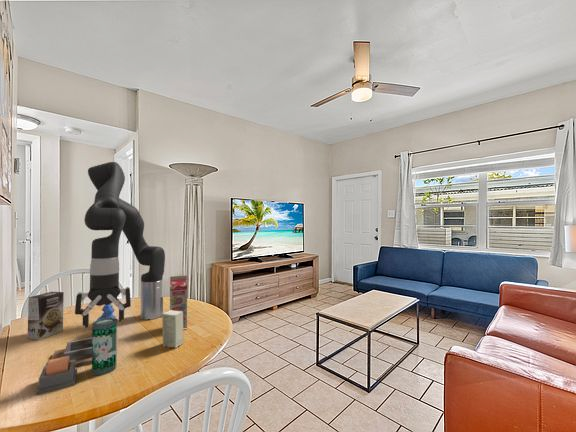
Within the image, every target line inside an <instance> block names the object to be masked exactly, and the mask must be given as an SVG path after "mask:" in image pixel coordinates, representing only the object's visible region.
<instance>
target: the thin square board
mask: <svg viewBox="0 0 576 432" xmlns="http://www.w3.org/2000/svg"><path fill="white" fill-rule="evenodd" d="M66 356H70V361H71V360H75V359H76V367H75V369H76V368H79V367H83V366H88V365H92V337H88V338H81V339H77V340H72V341H68V342H67V343H66V346H65V348H62V349H58V350H54V352H53V355H52V357H51V358H50V360H52V359H57V358H62V357H66Z"/></svg>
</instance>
